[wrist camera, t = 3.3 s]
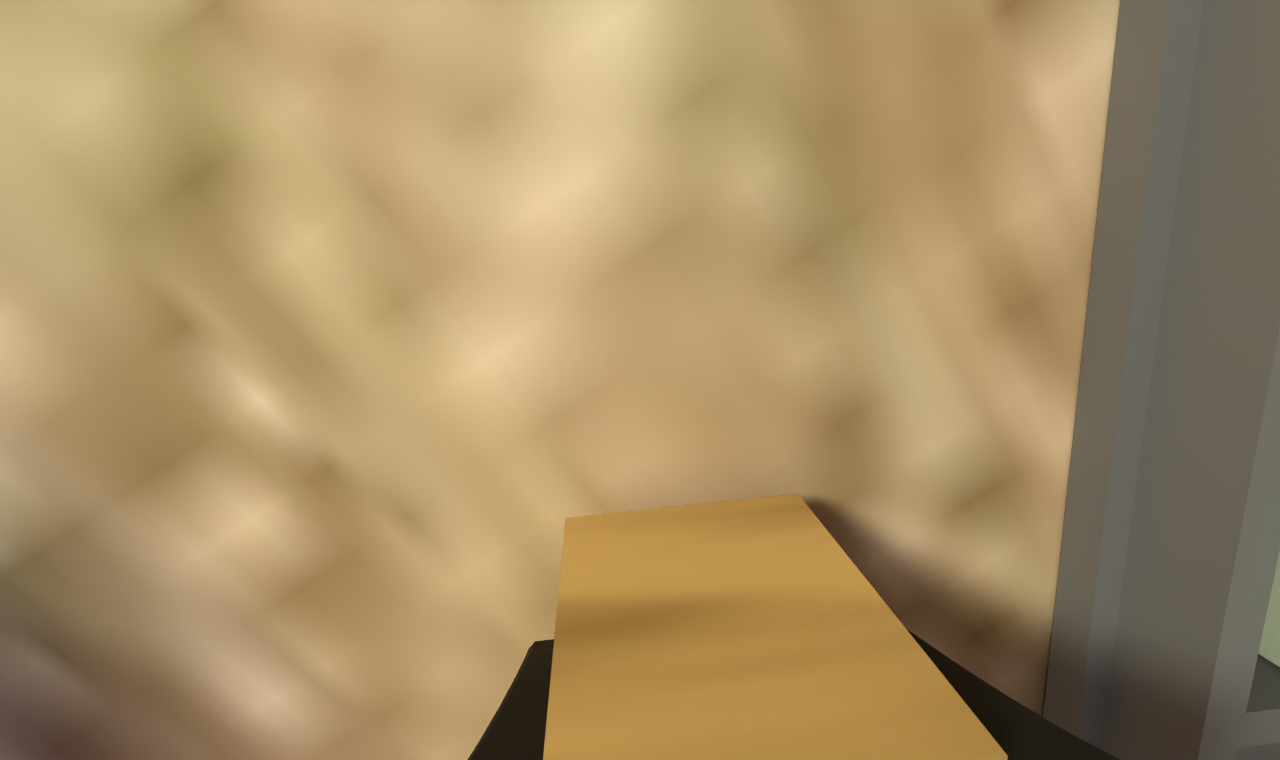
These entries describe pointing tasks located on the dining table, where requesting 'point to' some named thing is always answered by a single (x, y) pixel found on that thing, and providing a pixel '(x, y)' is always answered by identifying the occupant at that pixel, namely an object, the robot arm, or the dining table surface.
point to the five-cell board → (1179, 402)
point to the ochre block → (738, 646)
